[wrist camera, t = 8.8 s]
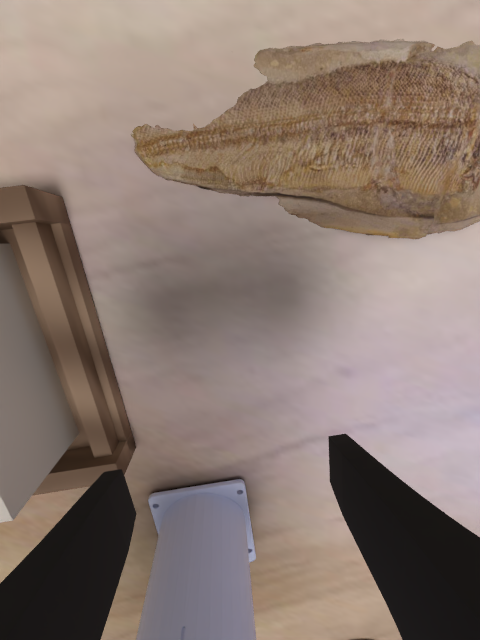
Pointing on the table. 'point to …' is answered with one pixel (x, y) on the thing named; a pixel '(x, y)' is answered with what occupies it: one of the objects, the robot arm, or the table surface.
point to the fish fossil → (345, 138)
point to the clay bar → (26, 396)
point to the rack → (68, 335)
